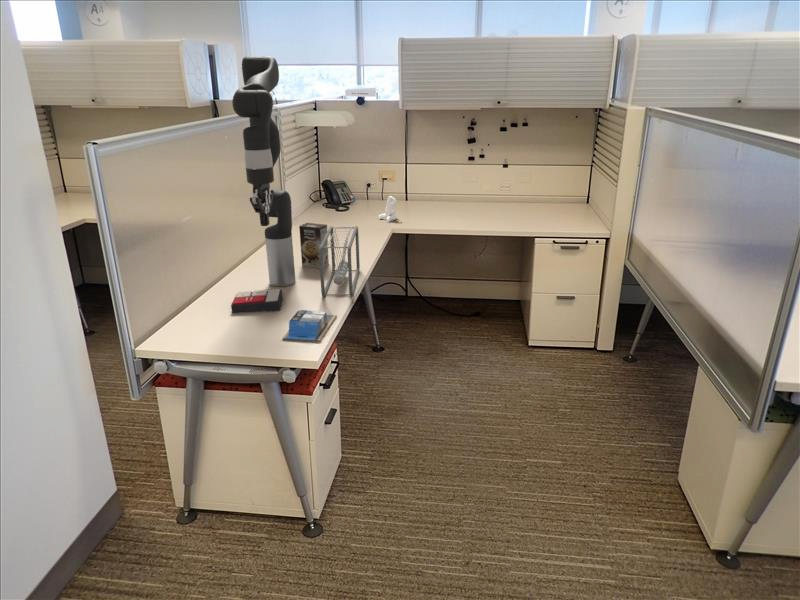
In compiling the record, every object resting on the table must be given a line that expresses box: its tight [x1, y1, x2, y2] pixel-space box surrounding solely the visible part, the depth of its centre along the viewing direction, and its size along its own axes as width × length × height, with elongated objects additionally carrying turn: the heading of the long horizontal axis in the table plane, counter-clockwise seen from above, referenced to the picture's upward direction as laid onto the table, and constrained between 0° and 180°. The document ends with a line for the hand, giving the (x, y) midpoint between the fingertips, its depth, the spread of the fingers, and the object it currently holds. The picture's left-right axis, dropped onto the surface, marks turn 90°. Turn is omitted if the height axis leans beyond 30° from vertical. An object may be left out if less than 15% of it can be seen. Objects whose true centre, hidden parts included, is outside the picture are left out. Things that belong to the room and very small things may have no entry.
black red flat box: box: [230, 288, 284, 314], centre depth 187 cm, size 11×4×15 cm
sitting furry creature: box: [378, 195, 399, 223], centre depth 292 cm, size 10×9×12 cm
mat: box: [282, 314, 337, 343], centre depth 170 cm, size 18×11×1 cm, turn 171°
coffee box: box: [298, 222, 330, 269], centre depth 223 cm, size 9×6×16 cm
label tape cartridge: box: [286, 309, 328, 340], centre depth 167 cm, size 9×4×12 cm
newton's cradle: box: [319, 225, 361, 298], centre depth 203 cm, size 30×10×18 cm, turn 179°
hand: (265, 225), depth 168 cm, fingers closed
